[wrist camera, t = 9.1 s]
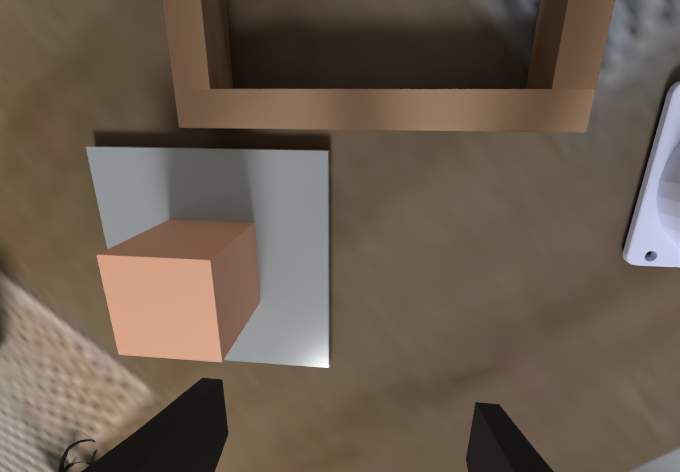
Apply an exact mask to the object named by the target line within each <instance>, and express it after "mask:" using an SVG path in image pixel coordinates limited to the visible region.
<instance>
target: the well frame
mask: <svg viewBox="0 0 680 472" xmlns="http://www.w3.org/2000/svg"><path fill="white" fill-rule="evenodd" d="M614 2H615V0H540V4H539V10H538V16H537V22H536V29H535V35H534V41H533V47H532V53H531V60H530V66H529V72H528V78H527V85H526V89H233V77H232V65H231V53H230V40H229V28H228V15H227V3H226V0H163V7H164V15H165V23H166V31H167V38H168V46H169V54H170V62H171V69H172V77H173V85H174V92H175V100H176V108H177V116H178V123H179V128H241V129H330V130H420V131H509V132H586V131H587V126H588V121H589V117H590V112H591V108H592V103H593V98H594V94H595V89H596V85H597V80H598V75H599V71H600V66H601V62H602V57H603V52H604V48H605V43H606V39H607V34H608V29H609V25H610V20H611V16H612V11H613V6H614Z"/></svg>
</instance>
